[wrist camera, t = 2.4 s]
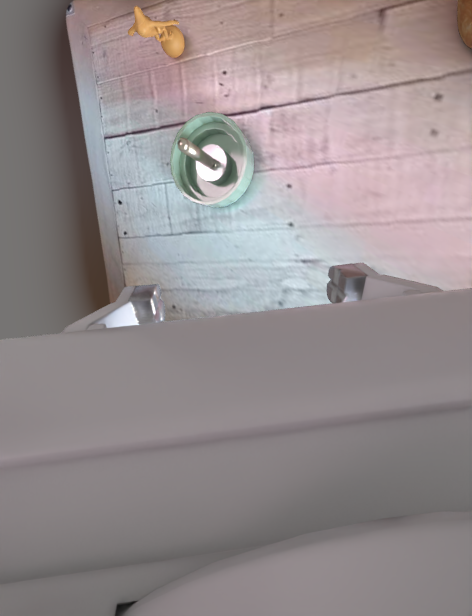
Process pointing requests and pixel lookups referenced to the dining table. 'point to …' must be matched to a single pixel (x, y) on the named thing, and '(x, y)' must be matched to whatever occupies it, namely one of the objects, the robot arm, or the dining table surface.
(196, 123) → the bowl
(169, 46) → the figurine
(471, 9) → the bread roll
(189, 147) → the meat pounder
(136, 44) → the dining table surface
